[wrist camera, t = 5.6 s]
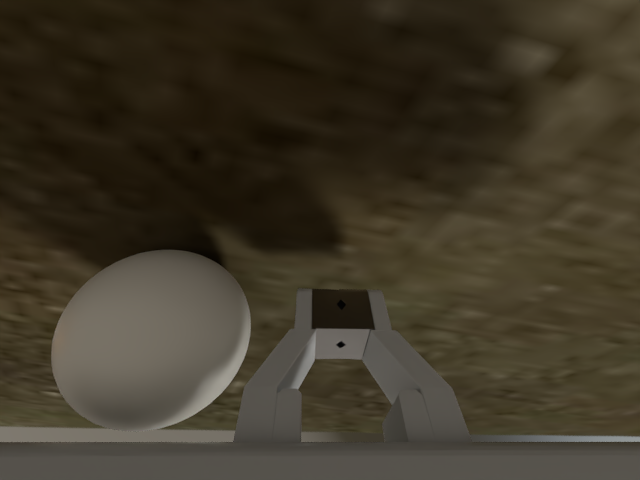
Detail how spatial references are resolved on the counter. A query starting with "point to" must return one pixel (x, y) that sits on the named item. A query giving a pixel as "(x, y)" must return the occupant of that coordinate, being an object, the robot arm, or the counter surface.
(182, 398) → the ivory ball
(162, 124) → the counter surface
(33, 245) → the counter surface
